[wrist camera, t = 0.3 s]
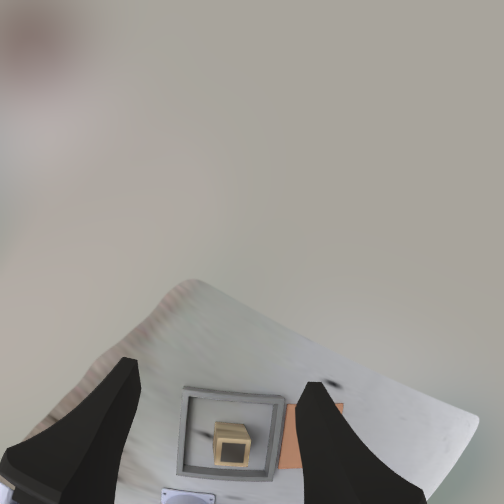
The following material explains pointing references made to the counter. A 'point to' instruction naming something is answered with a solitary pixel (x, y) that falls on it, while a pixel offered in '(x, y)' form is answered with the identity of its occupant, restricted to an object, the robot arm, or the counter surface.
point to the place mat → (292, 440)
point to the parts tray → (226, 473)
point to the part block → (231, 444)
